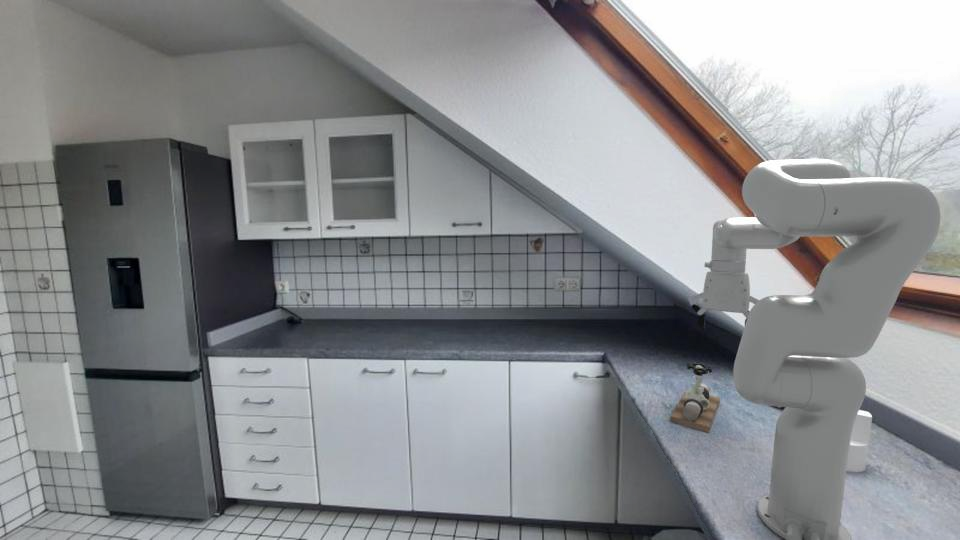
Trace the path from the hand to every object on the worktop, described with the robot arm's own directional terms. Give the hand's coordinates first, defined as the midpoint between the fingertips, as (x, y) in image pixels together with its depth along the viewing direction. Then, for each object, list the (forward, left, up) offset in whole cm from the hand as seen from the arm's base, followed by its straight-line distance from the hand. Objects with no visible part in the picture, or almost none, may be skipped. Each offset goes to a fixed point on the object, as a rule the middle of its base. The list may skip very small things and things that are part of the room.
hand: (723, 332), depth 99 cm
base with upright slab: (-3, -24, -25) cm, 35 cm away
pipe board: (+2, +5, -25) cm, 26 cm away
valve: (+3, +5, -24) cm, 24 cm away
